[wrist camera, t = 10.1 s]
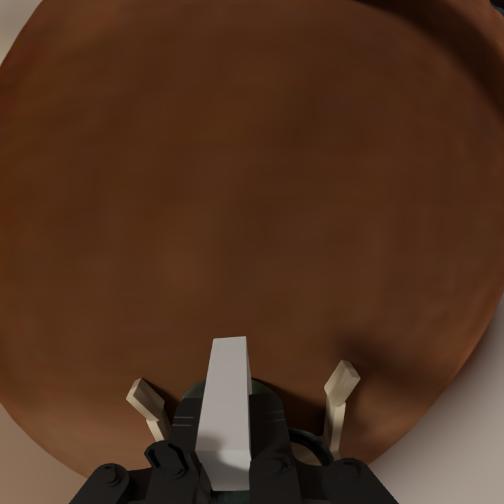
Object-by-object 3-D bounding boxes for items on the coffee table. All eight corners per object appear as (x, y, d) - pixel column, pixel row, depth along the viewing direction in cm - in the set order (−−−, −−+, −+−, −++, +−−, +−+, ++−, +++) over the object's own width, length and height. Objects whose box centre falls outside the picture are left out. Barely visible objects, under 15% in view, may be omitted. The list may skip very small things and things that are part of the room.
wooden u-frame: (133, 377, 24) (77, 497, 9) (349, 357, 25) (425, 474, 10) (166, 453, 26) (146, 552, 11) (339, 438, 27) (378, 534, 12)
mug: (176, 361, 24) (145, 461, 12) (328, 373, 25) (373, 464, 13) (177, 434, 26) (161, 518, 14) (302, 442, 27) (324, 522, 15)
